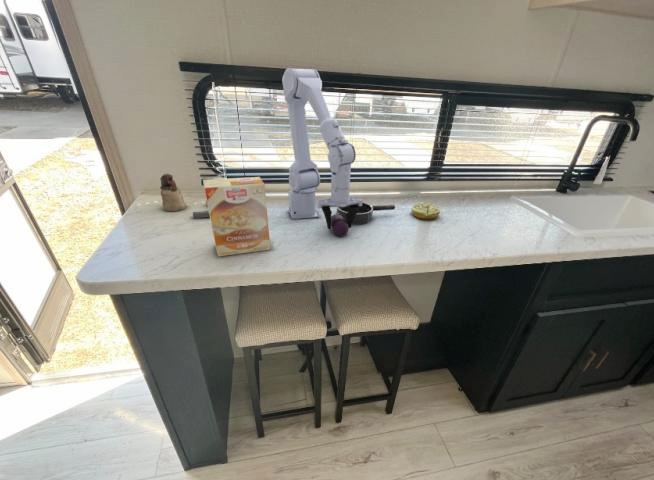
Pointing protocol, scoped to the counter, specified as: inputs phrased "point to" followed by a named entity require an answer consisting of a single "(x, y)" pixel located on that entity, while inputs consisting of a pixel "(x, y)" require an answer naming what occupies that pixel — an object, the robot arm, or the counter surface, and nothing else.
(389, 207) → the pan handle
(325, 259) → the counter surface
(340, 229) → the eggplant
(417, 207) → the decorated donut
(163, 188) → the figurine
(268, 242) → the coffeecake box
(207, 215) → the door handle
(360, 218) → the pan
